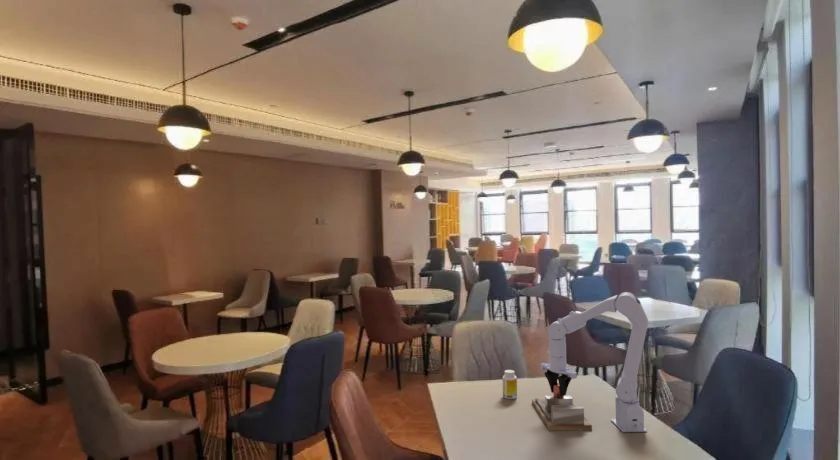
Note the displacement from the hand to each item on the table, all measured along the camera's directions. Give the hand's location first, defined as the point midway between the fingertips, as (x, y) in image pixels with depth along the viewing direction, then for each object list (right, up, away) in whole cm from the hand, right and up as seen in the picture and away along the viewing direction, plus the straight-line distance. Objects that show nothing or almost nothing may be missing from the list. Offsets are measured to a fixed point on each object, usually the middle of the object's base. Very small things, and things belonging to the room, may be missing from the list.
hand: (558, 393), depth 167 cm
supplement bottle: (-14, -8, +18) cm, 24 cm away
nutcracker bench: (0, -7, -1) cm, 7 cm away
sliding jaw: (0, -6, 0) cm, 6 cm away
